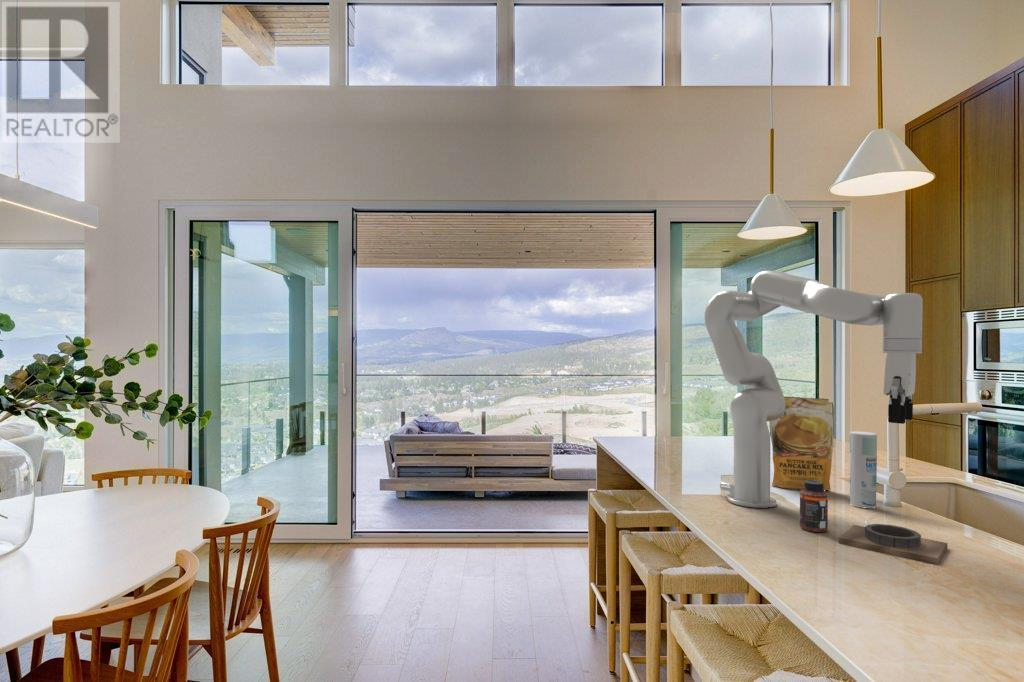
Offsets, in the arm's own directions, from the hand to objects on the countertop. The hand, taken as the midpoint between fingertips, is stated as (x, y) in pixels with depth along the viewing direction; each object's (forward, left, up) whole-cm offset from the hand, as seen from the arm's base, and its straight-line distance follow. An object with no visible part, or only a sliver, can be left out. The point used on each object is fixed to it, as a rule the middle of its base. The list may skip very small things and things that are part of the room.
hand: (900, 421), depth 135 cm
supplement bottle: (-16, -9, -27) cm, 32 cm away
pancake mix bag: (-32, +33, -27) cm, 53 cm away
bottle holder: (0, -9, -27) cm, 28 cm away
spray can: (-13, +24, -27) cm, 38 cm away
